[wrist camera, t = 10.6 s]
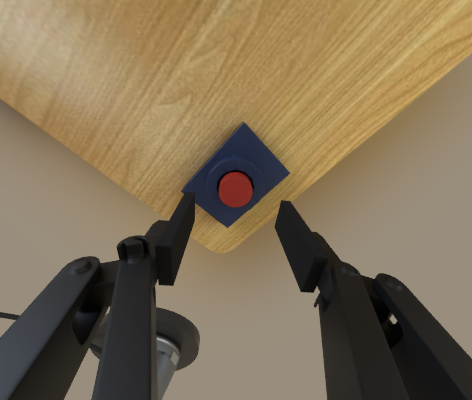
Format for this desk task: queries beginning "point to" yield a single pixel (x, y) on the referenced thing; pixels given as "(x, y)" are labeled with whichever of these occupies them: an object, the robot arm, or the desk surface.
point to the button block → (236, 160)
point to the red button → (235, 189)
